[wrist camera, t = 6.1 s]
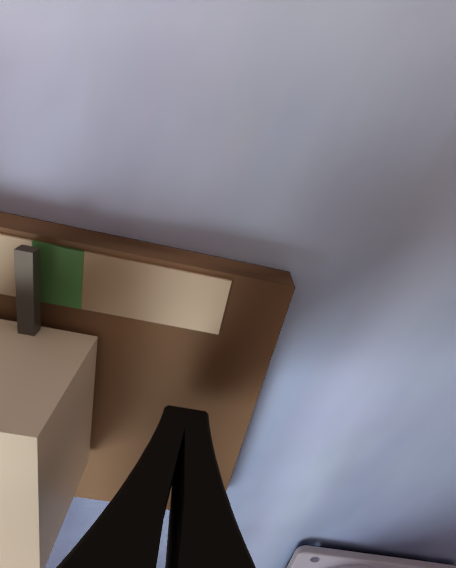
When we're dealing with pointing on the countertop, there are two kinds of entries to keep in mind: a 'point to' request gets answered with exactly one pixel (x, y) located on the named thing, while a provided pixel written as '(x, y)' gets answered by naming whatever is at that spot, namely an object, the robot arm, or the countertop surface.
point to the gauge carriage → (40, 421)
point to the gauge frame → (153, 335)
